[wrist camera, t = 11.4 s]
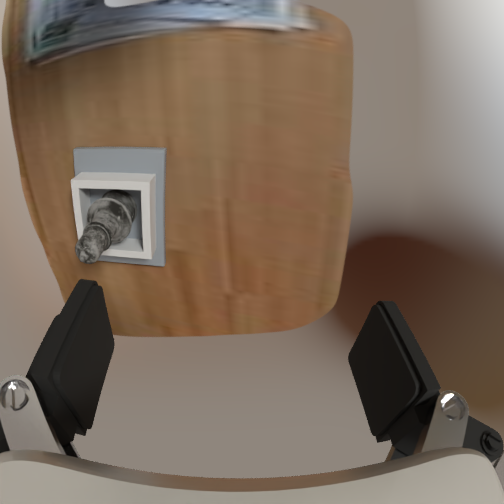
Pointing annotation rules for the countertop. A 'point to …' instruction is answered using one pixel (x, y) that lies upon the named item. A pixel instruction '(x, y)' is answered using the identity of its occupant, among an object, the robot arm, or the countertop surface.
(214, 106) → the countertop surface
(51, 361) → the robot arm
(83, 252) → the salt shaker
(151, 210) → the holder
